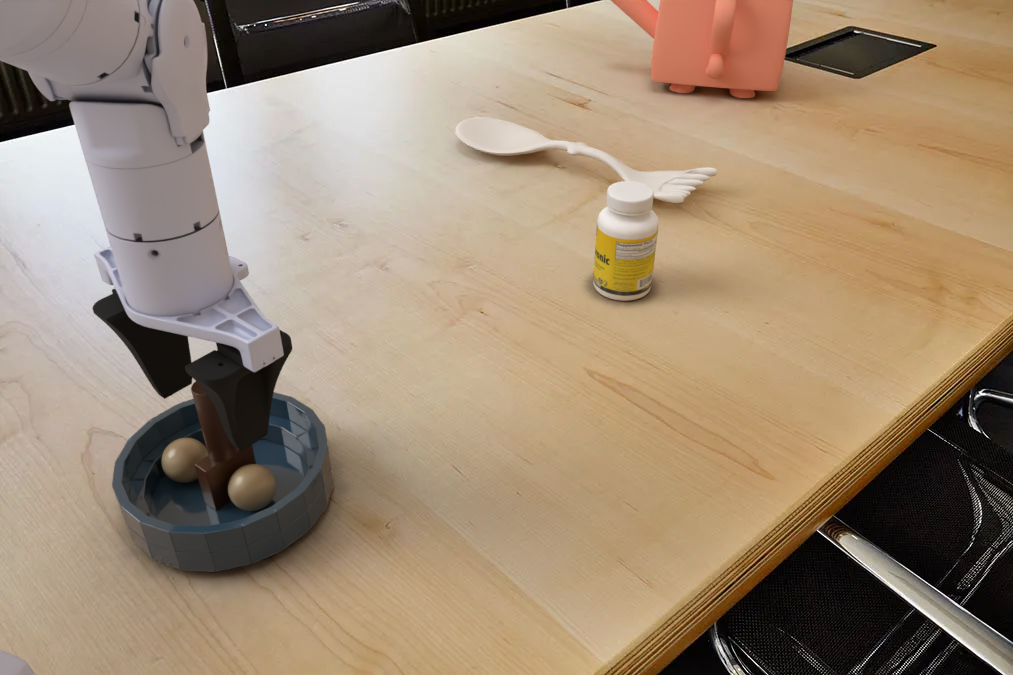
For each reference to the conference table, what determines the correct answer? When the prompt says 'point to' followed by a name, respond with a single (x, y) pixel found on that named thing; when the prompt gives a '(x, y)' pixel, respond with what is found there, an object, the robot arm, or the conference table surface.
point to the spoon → (521, 140)
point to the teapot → (715, 42)
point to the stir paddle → (216, 452)
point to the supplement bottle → (626, 242)
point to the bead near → (252, 487)
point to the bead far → (183, 459)
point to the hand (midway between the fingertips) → (212, 413)
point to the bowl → (230, 530)
